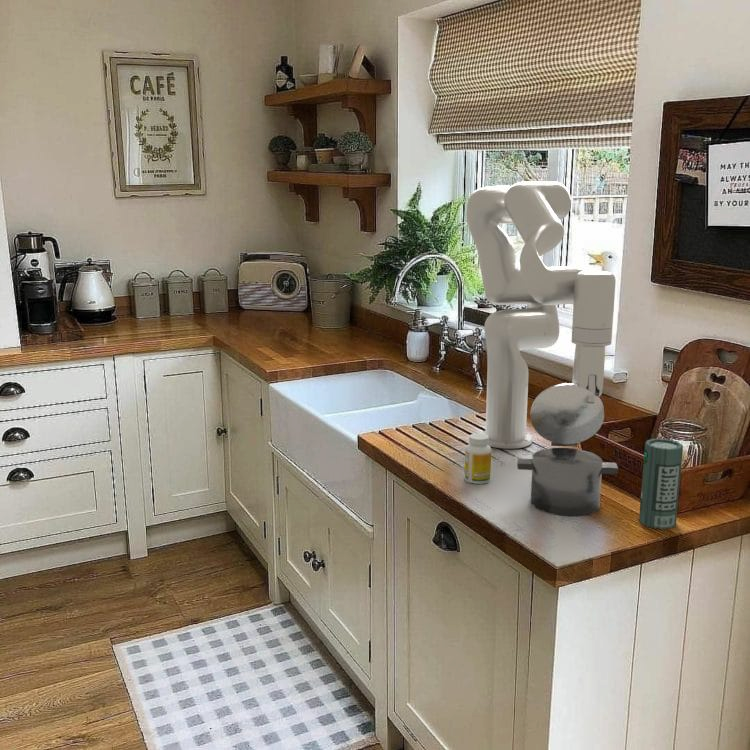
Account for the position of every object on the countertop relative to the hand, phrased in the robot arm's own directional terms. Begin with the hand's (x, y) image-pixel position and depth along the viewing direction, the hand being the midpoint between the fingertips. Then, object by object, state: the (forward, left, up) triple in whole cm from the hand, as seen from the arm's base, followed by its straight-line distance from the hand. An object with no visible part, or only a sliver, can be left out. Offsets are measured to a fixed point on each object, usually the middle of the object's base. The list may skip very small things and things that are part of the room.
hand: (586, 425), depth 164 cm
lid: (+3, -4, +3) cm, 6 cm away
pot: (+8, -4, -13) cm, 16 cm away
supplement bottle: (-2, -21, -13) cm, 25 cm away
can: (+15, +12, -13) cm, 24 cm away
